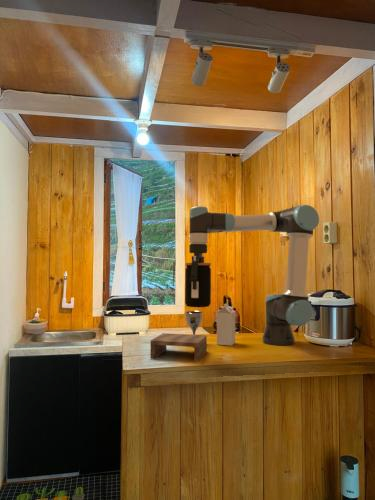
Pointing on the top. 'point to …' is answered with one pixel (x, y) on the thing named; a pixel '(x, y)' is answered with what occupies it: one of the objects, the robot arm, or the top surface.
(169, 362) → the top surface
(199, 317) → the wine glass
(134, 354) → the top surface
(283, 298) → the robot arm
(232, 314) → the milk carton
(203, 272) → the coffee jar
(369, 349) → the top surface
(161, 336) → the walnut shelf
